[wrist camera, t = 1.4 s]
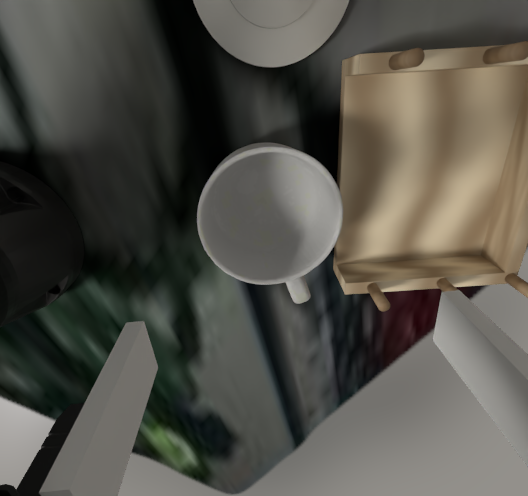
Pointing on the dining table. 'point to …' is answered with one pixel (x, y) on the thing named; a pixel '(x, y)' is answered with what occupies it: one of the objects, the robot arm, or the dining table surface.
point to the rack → (433, 170)
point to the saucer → (271, 27)
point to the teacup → (270, 216)
